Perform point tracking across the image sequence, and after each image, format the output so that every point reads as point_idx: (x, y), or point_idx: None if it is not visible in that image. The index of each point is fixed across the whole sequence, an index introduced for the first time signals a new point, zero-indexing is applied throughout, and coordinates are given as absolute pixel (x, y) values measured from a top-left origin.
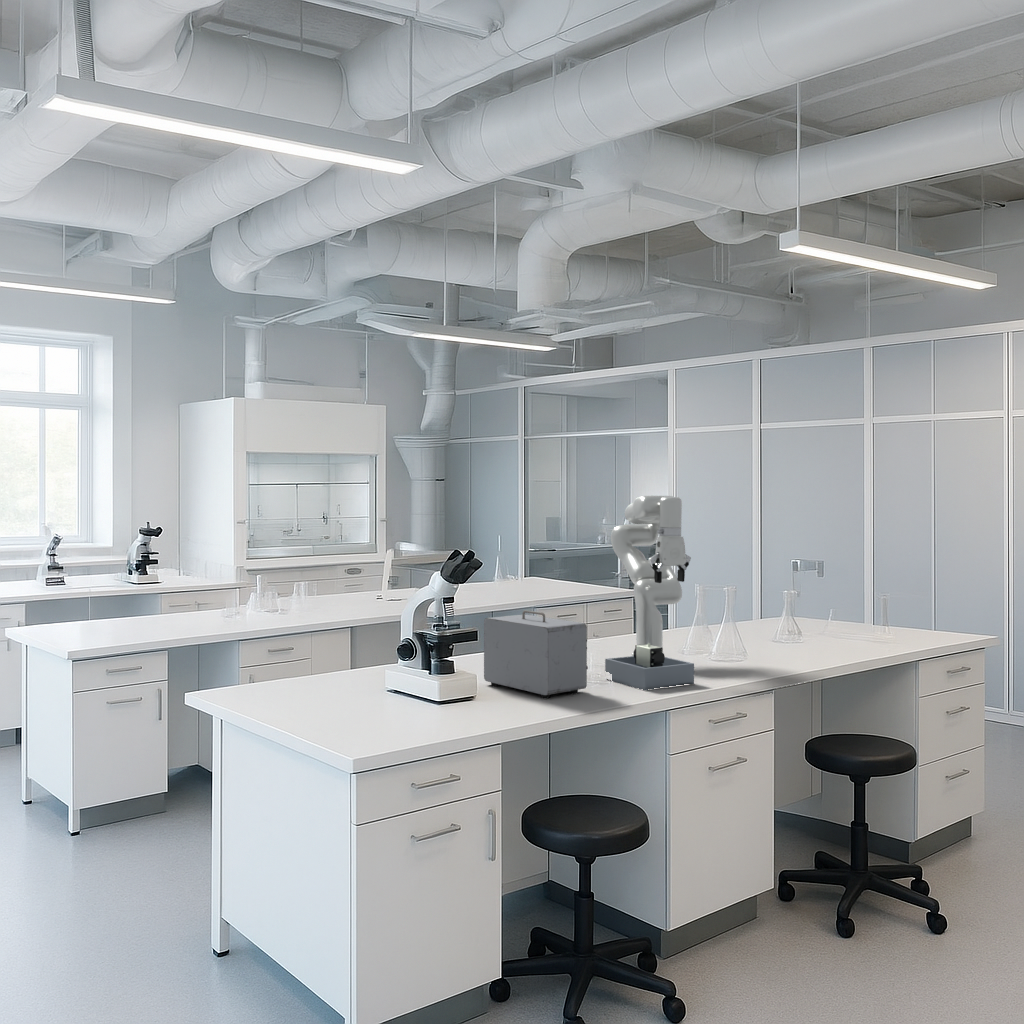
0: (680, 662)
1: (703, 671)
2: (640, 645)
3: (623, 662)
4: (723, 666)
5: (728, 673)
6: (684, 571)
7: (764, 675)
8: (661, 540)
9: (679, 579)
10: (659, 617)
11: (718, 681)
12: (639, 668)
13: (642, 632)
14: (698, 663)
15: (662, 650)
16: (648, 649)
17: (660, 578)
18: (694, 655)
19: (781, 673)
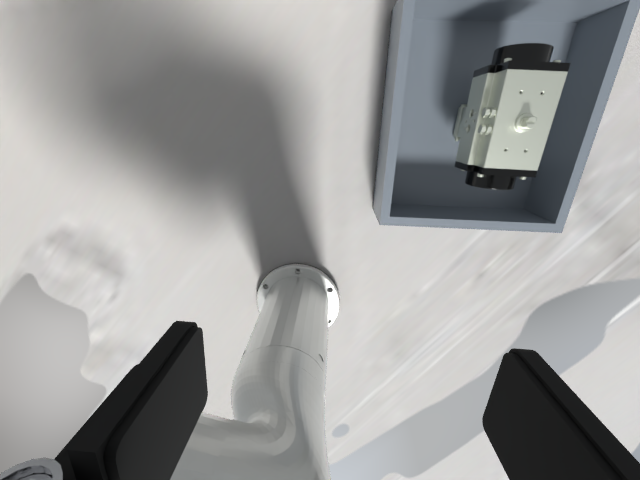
0: (407, 60)
1: (230, 170)
2: (526, 161)
3: (581, 146)
4: (140, 199)
5: (185, 109)
6: (86, 428)
7: (104, 21)
8: None
9: (198, 383)
10: (264, 362)
11: (289, 17)
12: (629, 27)
13: (324, 349)
14: (176, 261)
15: (505, 62)
16: (561, 84)
17: (566, 388)
18: (128, 337)
19: (37, 19)
